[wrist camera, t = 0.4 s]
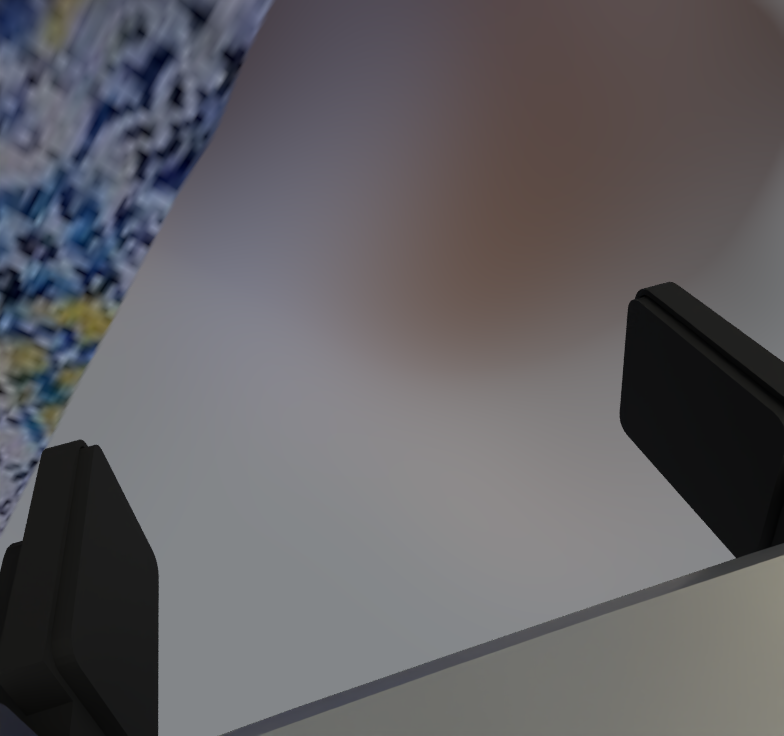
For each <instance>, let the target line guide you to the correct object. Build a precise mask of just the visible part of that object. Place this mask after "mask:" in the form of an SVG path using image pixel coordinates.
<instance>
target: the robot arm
mask: <svg viewBox="0 0 784 736" xmlns="http://www.w3.org/2000/svg"><path fill="white" fill-rule="evenodd" d="M622 379H623V380H622V391H621V404H620V422H621V425H622V427H623V429H624V431H625V432H626V434H627V435H628V437H629V438H630V439H631V440H632V441H633V442H634V443H635V444H636V446H637V447H638V448H639V449H640V450H641V451H642V452H643V453H644V454H645V456H646V457H647V458H648V459H649V460H650V461H651V462H652V464H653V465H654V466H655V467H656V468H657V469H658V470H659V472H660V473H661V474H662V475H663V476H664V477H665V478H666V479H667V480H668V482H669V483H670V484H671V485H672V486H673V487H674V488H675V490H676V491H677V492H678V493H679V494H680V495H681V496H682V497H683V499H684V500H685V501H686V502H687V503H688V504H689V505H690V506H691V508H692V509H694V511H695V512H696V513H697V514H698V515H699V517H700V518H701V519H702V520H703V521H704V522H705V523H706V525H707V526H708V527H709V528H710V529H711V530H712V531H713V532H714V534H715V535H716V536H717V537H718V538H719V539H720V540H721V541H722V543H723V544H724V545H725V546H726V547H727V548H728V549H729V550H730V552H731V553H732V554H733V555H734V556H735V557H736V559H733V560H730V561H727V562H724V563H721V564H718V565H715V566H712V567H709V568H706V569H703V570H700V571H697V572H694V573H691V574H688V575H685V576H682V577H679V578H676V579H673V580H670V581H667V582H664V583H661V584H658V585H655V586H652V587H649V588H646V589H643V590H640V591H637V592H634V593H631V594H628V595H625V596H622V597H619V598H616V599H613V600H610V601H607V602H604V603H601V604H598V605H595V606H592V607H589V608H586V609H583V610H580V611H577V612H574V613H571V614H568V615H566V616H562V617H559V618H557V619H554V620H551V621H548V622H545V623H542V624H539V625H536V626H533V627H530V628H527V629H524V630H521V631H518V632H515V633H512V634H509V635H507V636H503V637H500V638H498V639H495V640H492V641H489V642H486V643H483V644H480V645H477V646H474V647H471V648H468V649H465V650H462V651H459V652H456V653H453V654H451V655H448V656H445V657H442V658H439V659H436V660H433V661H430V662H427V663H424V664H422V665H418V666H416V667H413V668H410V669H407V670H404V671H401V672H398V673H395V674H392V675H389V676H387V677H384V678H381V679H378V680H375V681H372V682H369V683H366V684H363V685H361V686H358V687H355V688H352V689H349V690H346V691H343V692H340V693H337V694H334V695H332V696H328V697H326V698H323V699H320V700H317V701H314V702H311V703H308V704H305V705H302V706H299V707H297V708H294V709H291V710H288V711H285V712H283V713H280V714H277V715H274V716H272V717H269V718H266V719H264V720H261V721H258V722H255V723H252V724H249V725H247V726H244V727H241V728H238V729H236V730H233V731H230V732H228V733H225V734H222V735H219V736H784V362H783V361H781V360H780V359H778V358H777V357H776V356H774V355H773V354H772V353H770V352H769V351H768V350H766V349H765V348H763V347H762V346H761V345H759V344H758V343H757V342H755V341H754V340H752V339H751V338H750V337H748V336H747V335H746V334H744V333H743V332H741V331H740V330H739V329H737V328H736V327H735V326H733V325H732V324H731V323H729V322H727V321H726V320H725V319H723V318H722V317H721V316H720V315H718V314H717V313H715V312H714V311H712V310H711V309H710V308H708V307H707V306H706V305H704V304H703V303H702V302H700V301H699V300H698V299H696V298H695V297H693V296H692V295H691V294H689V293H688V292H686V291H685V290H684V289H682V288H681V287H680V286H678V285H677V284H675V283H673V282H667V283H663V284H659V285H655V286H652V287H648V288H644V289H641V290H640V291H638V292H637V294H636V297H635V299H634V300H632V301H631V302H630V303H629V306H628V315H627V328H626V340H625V353H624V365H623V378H622ZM158 579H159V576H158V566H157V562H156V558H155V555H154V553H153V551H152V549H151V547H150V545H149V543H148V541H147V539H146V537H145V535H144V533H143V531H142V529H141V527H140V525H139V523H138V521H137V519H136V517H135V515H134V513H133V511H132V509H131V507H130V505H129V503H128V501H127V499H126V497H125V495H124V493H123V491H122V489H121V487H120V485H119V483H118V481H117V479H116V477H115V475H114V473H113V471H112V469H111V467H110V465H109V463H108V461H107V459H106V457H105V455H104V453H103V451H102V449H101V448H100V447H99V446H98V445H93V446H89V447H88V446H87V445H86V443H85V442H84V441H83V440H77V441H73V442H70V443H65V444H62V445H58V446H54V447H51V448H47V449H45V450H43V452H42V455H41V459H40V464H39V468H38V473H37V477H36V482H35V487H34V491H33V496H32V500H31V505H30V509H29V514H28V519H27V524H26V528H25V533H24V537H23V541H20V542H17V543H13V544H11V545H10V546H9V547H8V548H7V550H6V553H5V555H4V558H3V562H2V566H1V571H0V736H158V600H159V599H158V598H159V593H158V591H159V585H158V584H159V581H158Z"/></svg>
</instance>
